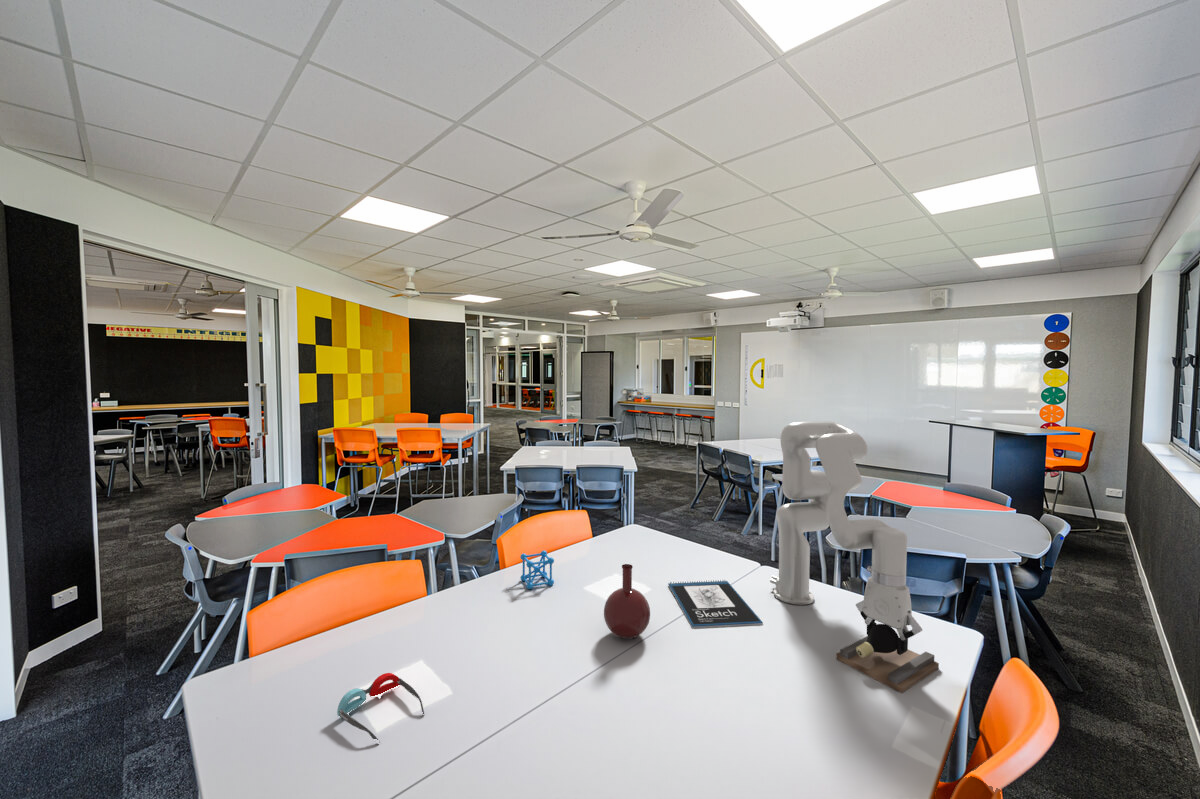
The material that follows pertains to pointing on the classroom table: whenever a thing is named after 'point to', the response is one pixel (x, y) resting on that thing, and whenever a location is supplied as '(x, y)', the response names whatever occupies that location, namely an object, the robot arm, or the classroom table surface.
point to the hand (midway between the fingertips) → (886, 645)
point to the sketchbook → (713, 604)
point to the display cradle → (890, 666)
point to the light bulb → (879, 641)
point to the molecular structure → (537, 569)
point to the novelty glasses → (372, 690)
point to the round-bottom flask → (627, 609)
